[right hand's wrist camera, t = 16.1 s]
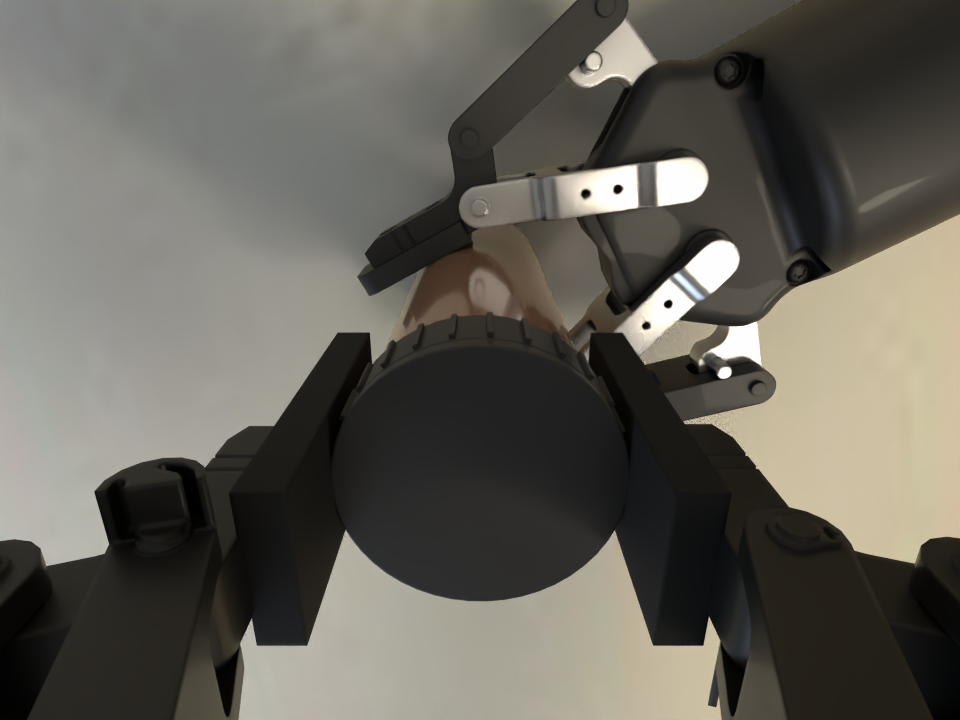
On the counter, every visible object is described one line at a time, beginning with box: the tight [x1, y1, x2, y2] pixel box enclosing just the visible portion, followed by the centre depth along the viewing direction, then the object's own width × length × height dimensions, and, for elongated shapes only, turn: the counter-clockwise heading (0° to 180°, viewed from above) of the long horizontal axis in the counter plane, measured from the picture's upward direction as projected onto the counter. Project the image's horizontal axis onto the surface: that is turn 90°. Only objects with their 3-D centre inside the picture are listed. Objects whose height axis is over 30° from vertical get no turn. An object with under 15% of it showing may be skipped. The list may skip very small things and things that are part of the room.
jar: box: [384, 224, 576, 352], centre depth 18 cm, size 5×5×15 cm
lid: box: [331, 312, 630, 601], centre depth 11 cm, size 5×5×2 cm
